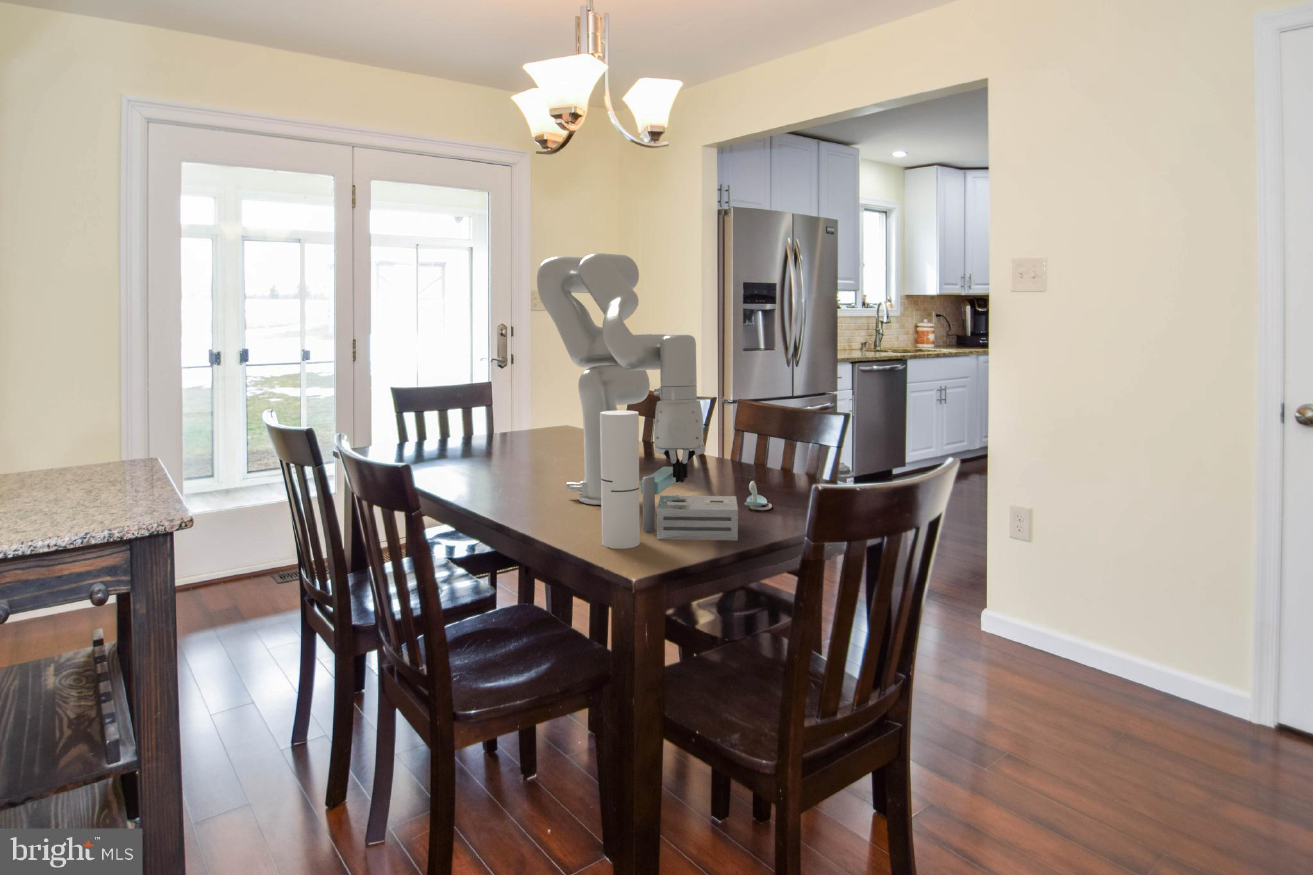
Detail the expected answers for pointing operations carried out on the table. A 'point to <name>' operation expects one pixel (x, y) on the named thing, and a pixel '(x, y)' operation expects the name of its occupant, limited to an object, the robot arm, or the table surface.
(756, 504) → the pacifier
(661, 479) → the swing bar
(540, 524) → the table surface
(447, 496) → the table surface
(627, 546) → the cylindrical container
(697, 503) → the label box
